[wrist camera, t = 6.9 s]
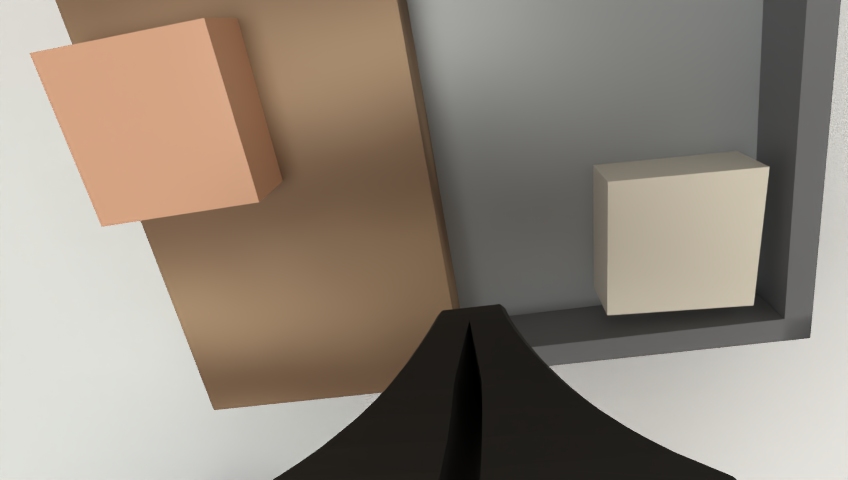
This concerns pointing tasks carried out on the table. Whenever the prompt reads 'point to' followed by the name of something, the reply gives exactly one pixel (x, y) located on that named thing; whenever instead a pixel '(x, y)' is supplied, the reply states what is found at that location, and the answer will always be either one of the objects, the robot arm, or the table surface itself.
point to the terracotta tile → (162, 120)
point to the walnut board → (308, 205)
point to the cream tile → (678, 232)
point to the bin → (621, 150)
